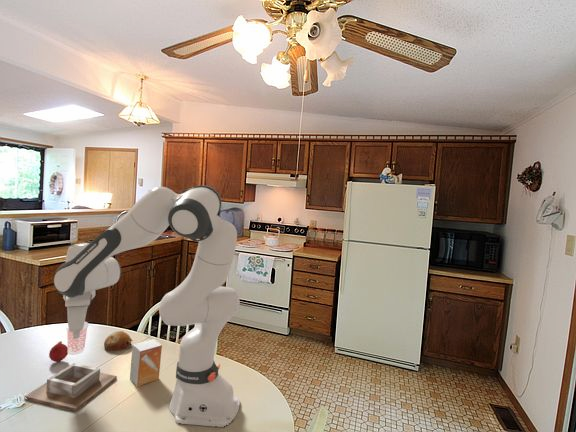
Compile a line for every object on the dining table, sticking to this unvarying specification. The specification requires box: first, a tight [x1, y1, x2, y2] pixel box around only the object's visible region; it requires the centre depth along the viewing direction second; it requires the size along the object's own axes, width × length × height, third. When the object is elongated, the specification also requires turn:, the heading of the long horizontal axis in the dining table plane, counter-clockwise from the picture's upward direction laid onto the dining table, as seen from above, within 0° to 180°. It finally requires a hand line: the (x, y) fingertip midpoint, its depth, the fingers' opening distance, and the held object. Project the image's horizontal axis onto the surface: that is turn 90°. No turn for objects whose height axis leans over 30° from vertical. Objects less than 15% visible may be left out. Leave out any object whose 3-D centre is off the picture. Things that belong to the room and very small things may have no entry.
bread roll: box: [103, 330, 133, 352], centre depth 137 cm, size 10×10×8 cm
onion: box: [48, 340, 69, 363], centre depth 121 cm, size 6×6×8 cm
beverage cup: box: [66, 321, 89, 356], centre depth 106 cm, size 6×6×14 cm
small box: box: [129, 338, 163, 388], centre depth 116 cm, size 8×6×13 cm
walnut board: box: [24, 362, 117, 412], centre depth 107 cm, size 18×18×5 cm
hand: (77, 332), depth 106 cm, fingers closed on beverage cup, 6 cm apart
